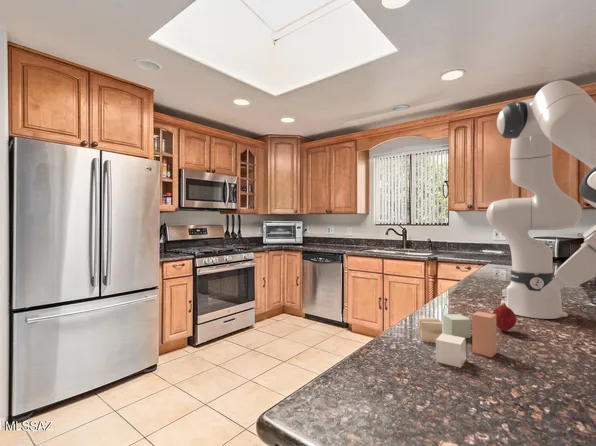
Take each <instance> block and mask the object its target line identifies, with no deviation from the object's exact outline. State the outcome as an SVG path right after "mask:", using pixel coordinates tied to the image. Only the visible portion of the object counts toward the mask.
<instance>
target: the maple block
mask: <svg viewBox="0 0 596 446" xmlns="http://www.w3.org/2000/svg"><path fill="white" fill-rule="evenodd" d="M441 334H443V322H442V321H441V320H440V318H439V317H422V316H420V317H418V335H419V338H420V341H421V342H423V343H435V344H436V339H437V338H438V337H439V336H440V335H441Z"/></svg>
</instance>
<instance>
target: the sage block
mask: <svg viewBox="0 0 596 446" xmlns="http://www.w3.org/2000/svg"><path fill="white" fill-rule="evenodd" d="M442 333H443V334H447V335H453V336H458V337H463V338H465V339H471V319H470V318H468V317H466V316H465V315H463V314H461V313H457V314H453V313H452V314H451V313H450V314H442Z"/></svg>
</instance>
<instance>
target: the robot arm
mask: <svg viewBox="0 0 596 446" xmlns="http://www.w3.org/2000/svg"><path fill="white" fill-rule="evenodd" d="M496 128H497V130H498V132H499V135H500V136H502V138H503V139H509V140H511V141H510V150H509V167H510V168H509V170H510V172H509V174H510V177H509V178H510V180H511V182H512V183H513V184H514V185H516V186H517V187H520V188H523V189H526V190H528V191H530V192H532V193H533V196H531V197H514V198H504V199H499V200H495V201H492V202H491V203H490V204H489V205H488V208H486V214H485V215H486V216H485V217H486V219H487V223H488V224H489V225H490V226H491V227H492V228H493V229H495V230H496V231H498V232H500V234H502V236H503V237H504V239H505V240H506V242H507V244H508V245H509V248H510V254H511V270H510V273H509V276H510V277H509V278H510V282H509V284H508V285H507V287H506V288H504V289H502V290H501V293H502V294H501V295H502V297H504V298H503V299H501V301H500V306H501V304H502V303H505V304H506V306H507V307H508V308H510V309H511V310H512V311H513V312H514V314H515V316H516V315H517V316H521V317H524V318H525V317H526V318H532V319H543V320H545V319H546V320H548V319H549V320H552V319H559V318H563V317H565V318H567V317H569V315H568V312H567V311H564V310H563V307H562V297H561V296H562V294H561V290H563V289H564V288H566V287H567V288H568V289H574V288H576V287H578V286H580V285H582V284H584V283H586V282H589V281H590V280H592V279H594V278H596V224H594V225H593V226H592V227H591V228H589V229H588V230H587V231H585V232H583V234H582V236H583V237H584V240H583V243H581V244H580V247H579V249H577V250H576V251H575V252H574V253H573V254H572V255H571V256H569V258H567V259H566V260H565V261H564V262H563V263H562V264H561V265H560V266H558V268H557V269H556V270H555V271H554V270H553V266H554V263H553V250H552V248H551V247H550V246H549V245H548V244H546V243H545V242H543V241H540V240H538V239H535V238H534V237H532V236H530V235H529V231H541V230H542V231H556V230H565V229H569V228H570V229H571V228H575V226H577V224H578V223H580V221H581V220H582V215H583V209H582V206H581V204H580V203H579V202H578V201H577V200H576V199H575V198H574V197H572V196H570V195H568V194H566V193H565V192H564V191H563V190H562V189H561V188H560V187H559V186H558V184H557V183H556V180H555V177H554V169H553V144H554V145H555V146H557V147H558V148H560V149H561V150H563V151H565V152H566V153H567V154H570V155H571V156H572V157H574V158H576V159H577V160H579V161H580V162H581V163H583V164H585V165H586V166H587V167H589V169H590V170H588V172H587V173H585V175H584V176H583V178H581V180H580V184H579V186H578V187H579V188H578V189H579V190H578V191H579V195H580V196H581V197H582V198H583V199H584V201H585V202H586V203H587V204H589V205H591V206H592V207H594V208H595V209H596V101H595V100H594V99H593V98H592V97H591V96H590V95H589V94H588V93H587V91H585V89H583V88H582V87H580V86H578V85H577V84H575V83H574V82H571V81H569V80H563V79H561V80H555V81H551V82H549V83H547V84H545V85H544V86H542V87H541V88H540V89H539V90H538V91H537V92H536V94H535V95H534V97H531V98H526V99H524V100H519V101H517V100H515V101H513V102H509V103H508V104H505V105H503V107H502V108H501V109H500V110H499V112H498V114H497V118H496ZM553 271H554V272H553Z"/></svg>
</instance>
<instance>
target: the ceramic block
mask: <svg viewBox="0 0 596 446" xmlns="http://www.w3.org/2000/svg"><path fill="white" fill-rule="evenodd" d="M466 345H467V344H466V338H463V337H458V336H453V335H447V334H445V333H442V334H441V335H440V336H439V337H438V338H437V339H436V343H435V362H436V363H439V364H443V365H448V366H451V367H452V366H453V367H457V368H460V369H461V368H462V367H463V365H464V364H465V362H466V360H467V356H466V353H467V352H466V351H467V350H466V347H467V346H466Z"/></svg>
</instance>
